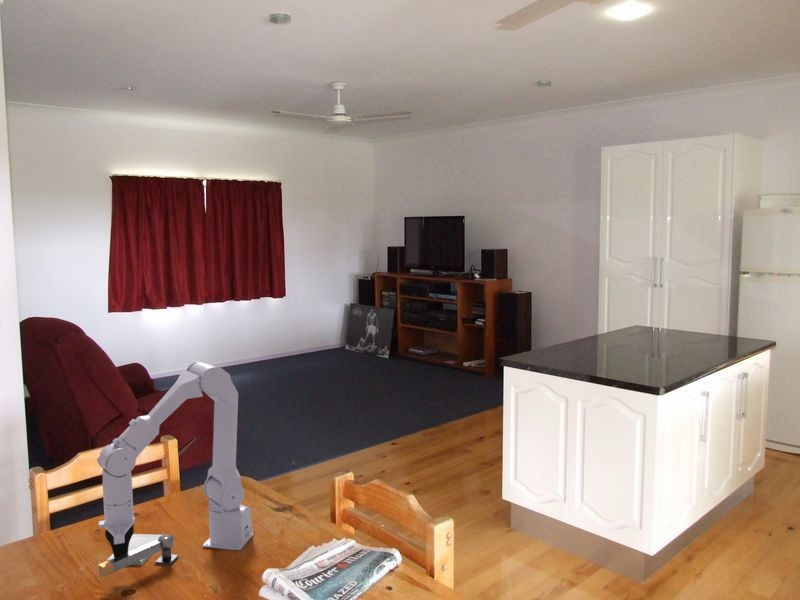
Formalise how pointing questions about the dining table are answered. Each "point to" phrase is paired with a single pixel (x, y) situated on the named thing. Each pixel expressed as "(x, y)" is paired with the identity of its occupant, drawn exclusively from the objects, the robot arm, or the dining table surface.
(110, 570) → the grey long bar
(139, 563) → the hard drive
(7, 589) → the dining table surface
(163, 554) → the grey small stand
